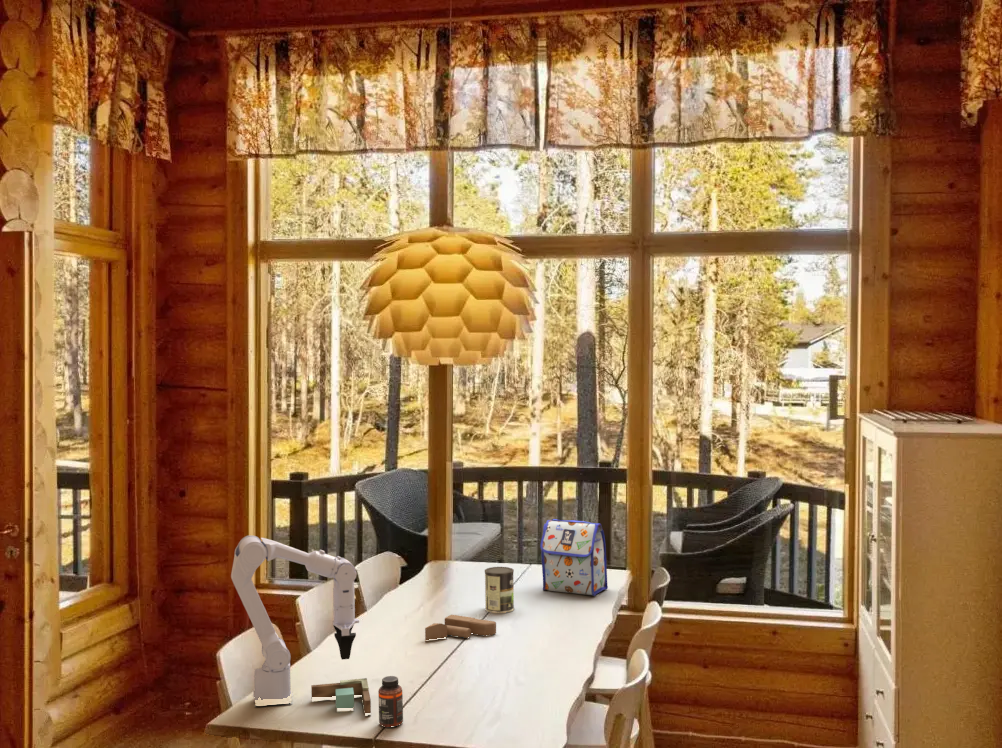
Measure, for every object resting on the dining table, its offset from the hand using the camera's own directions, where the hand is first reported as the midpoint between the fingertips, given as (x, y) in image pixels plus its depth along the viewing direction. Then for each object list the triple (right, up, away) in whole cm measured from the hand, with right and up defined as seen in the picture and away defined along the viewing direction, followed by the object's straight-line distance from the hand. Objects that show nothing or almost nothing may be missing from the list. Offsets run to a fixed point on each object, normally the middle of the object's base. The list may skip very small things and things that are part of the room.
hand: (344, 654), depth 246 cm
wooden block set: (+29, -9, +45) cm, 54 cm away
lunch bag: (+70, -7, +99) cm, 122 cm away
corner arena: (+1, -10, -12) cm, 16 cm away
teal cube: (+2, -10, -12) cm, 16 cm away
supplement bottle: (+15, -11, -22) cm, 29 cm away
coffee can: (+42, -8, +75) cm, 86 cm away
